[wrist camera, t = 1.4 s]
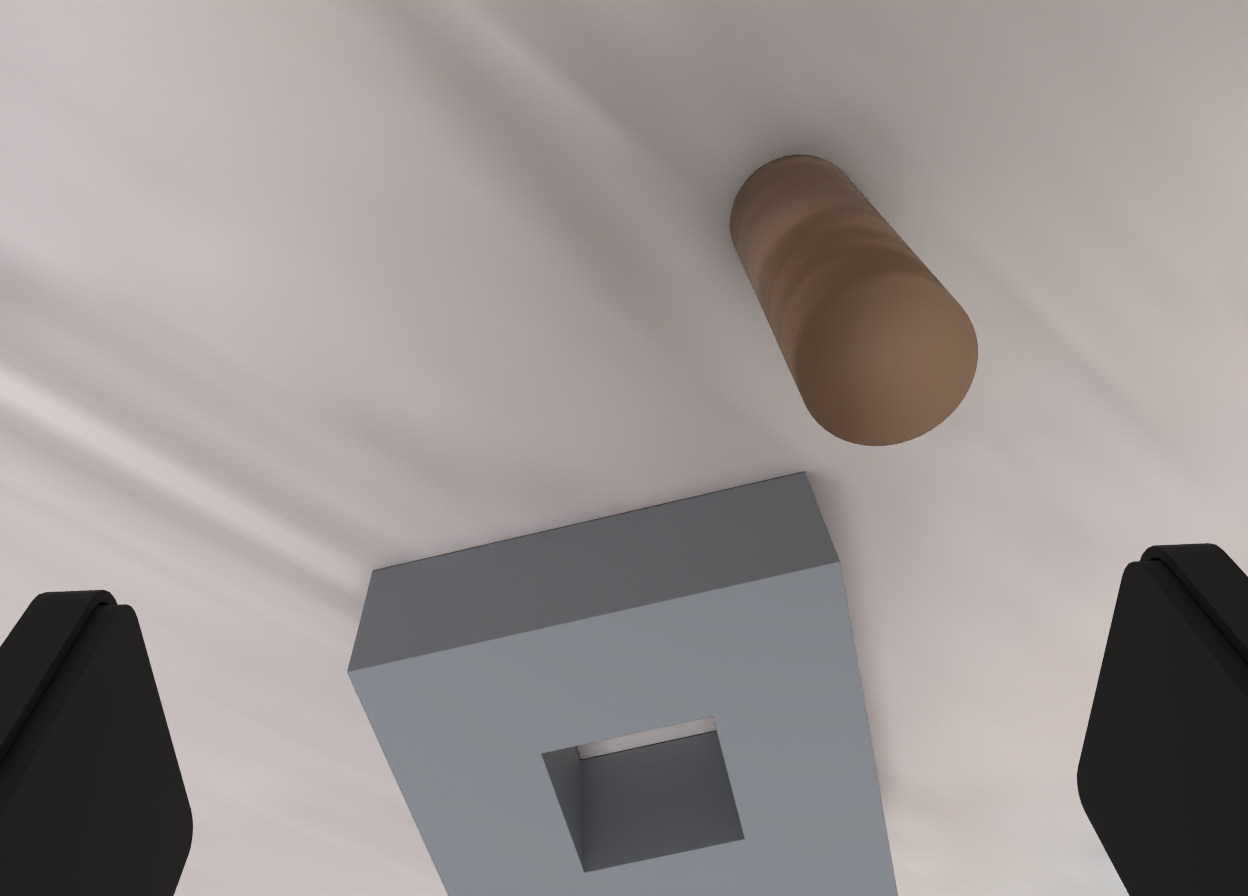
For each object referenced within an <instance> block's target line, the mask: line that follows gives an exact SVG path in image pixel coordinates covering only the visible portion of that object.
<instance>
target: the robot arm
mask: <svg viewBox="0 0 1248 896" xmlns="http://www.w3.org/2000/svg"><path fill="white" fill-rule="evenodd" d="M1077 785H1078V792H1079V796H1080V800H1081V803H1082V806H1083V808H1084V810H1085V812H1086V814H1087V816H1088V818H1089V820H1090V822H1091V824H1092V826H1093V828H1094V829H1095V831H1096V833H1097V835H1098V837H1099V839H1100V841H1101V843H1102V845H1103V846H1104V848H1105V850H1106V852H1107V854H1108V856H1109V858H1110V860H1111V861H1112V863H1113V865H1114V867H1115V869H1116V871H1117V873H1118V875H1119V877H1120V878H1121V880H1122V882H1123V884H1124V886H1125V888H1126V890H1127V892H1128V894H1129V895H1130V896H1248V577H1247V576H1246V574H1245V573H1244V572H1243V571H1242V570H1241V569H1240V568H1239V567H1238V566H1237V565H1236V564H1235V562H1234V561H1233V560H1232V559H1231V558H1230V557H1229V556H1228V555H1227V554H1226V553H1225V552H1224V551H1223V550H1222V549H1221V548H1220V547H1218V546H1217V545H1214V544H1209V543H1205V544H1181V545H1157V546H1152V547H1149V548H1147V549H1146V551H1145V552H1144V553H1143V554H1142V556H1141V559H1140V561H1138V562H1132V563H1129V564H1128V565H1127V567H1126V568H1125V570H1124V573H1123V576H1122V580H1121V584H1120V588H1119V593H1118V597H1117V601H1116V606H1115V610H1114V614H1113V619H1112V623H1111V627H1110V632H1109V636H1108V640H1107V644H1106V649H1105V653H1104V657H1103V662H1102V666H1101V670H1100V675H1099V679H1098V683H1097V688H1096V692H1095V696H1094V701H1093V705H1092V709H1091V714H1090V718H1089V722H1088V727H1087V731H1086V735H1085V740H1084V744H1083V748H1082V752H1081V757H1080V761H1079V765H1078V772H1077ZM192 834H193V820H192V813H191V808H190V805H189V801H188V798H187V794H186V790H185V787H184V783H183V780H182V776H181V772H180V769H179V765H178V762H177V758H176V755H175V751H174V747H173V744H172V740H171V737H170V733H169V729H168V726H167V722H166V719H165V715H164V712H163V708H162V704H161V701H160V697H159V694H158V690H157V686H156V683H155V679H154V676H153V672H152V669H151V665H150V661H149V658H148V654H147V651H146V647H145V643H144V640H143V636H142V633H141V629H140V626H139V622H138V618H137V616H136V613H135V611H134V610H133V608H132V607H131V606H129V605H117V603H116V600H115V598H114V597H113V596H112V594H111V593H110V592H108V591H105V590H89V591H65V592H45V593H42V594H39V595H38V596H37V597H36V598H35V599H34V600H33V601H32V602H31V603H30V605H29V606H28V608H27V609H26V611H25V612H24V614H23V615H22V616H21V618H20V619H19V621H18V622H17V624H16V625H15V627H14V628H13V629H12V631H11V632H10V634H9V635H8V637H7V638H6V639H5V641H4V642H3V644H2V645H1V647H0V896H173V895H174V893H175V890H176V887H177V885H178V882H179V879H180V876H181V874H182V871H183V868H184V866H185V863H186V860H187V857H188V855H189V851H190V848H191V842H192Z"/></svg>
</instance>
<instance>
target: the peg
mask: <svg viewBox="0 0 1248 896" xmlns="http://www.w3.org/2000/svg"><path fill="white" fill-rule="evenodd" d="M730 229H731V236H732V240H733V243H734V246H735V248H736V251H737V253H738V255H739V257H740V259H741V262H742V264H743V266H744V268H745V271H746V273H747V275H748V277H749V280H750V282H751V284H752V286H753V289H754V291H755V293H756V295H757V298H758V300H759V302H760V304H761V307H762V309H763V311H764V313H765V316H766V318H767V320H768V322H769V324H770V327H771V329H772V331H773V333H774V336H775V338H776V340H777V342H778V345H779V347H780V349H781V351H782V354H783V356H784V358H785V360H786V363H787V365H788V367H789V369H790V372H791V374H792V376H793V378H794V380H795V383H796V385H797V387H798V389H799V392H800V394H801V396H802V398H803V401H804V403H805V405H806V407H807V409H808V410H809V412H810V414H811V415H812V416H813V418H814V419H815V420H816V421H817V422H818V423H819V424H820V425H821V426H822V427H823V428H824V429H825V430H827V431H828V432H830V433H831V434H833V435H834V436H836V437H838V438H841V439H843V440H845V441H848V442H851V443H855V444H860V445H867V446H886V445H893V444H898V443H902V442H905V441H909V440H912V439H914V438H916V437H919V436H921V435H923V434H925V433H927V432H928V431H930V430H932V429H933V428H935V427H936V426H938V425H939V424H940V423H942V422H943V421H944V420H945V419H946V418H947V417H948V416H950V414H951V413H952V412H953V411H954V410H955V409H956V408H957V407H958V405H959V404H960V403H961V401H962V400H963V398H964V397H965V395H966V393H967V391H968V390H969V388H970V385H971V383H972V380H973V378H974V374H975V371H976V367H977V359H978V345H977V339H976V334H975V331H974V328H973V325H972V323H971V321H970V319H969V317H968V315H967V314H966V312H965V311H964V310H963V308H962V307H961V306H960V305H959V303H958V302H957V301H956V300H955V299H954V298H953V297H952V295H951V294H950V293H949V292H948V291H947V290H946V289H945V287H944V286H943V285H942V284H941V283H940V282H939V281H938V280H937V278H936V277H935V276H934V275H933V274H932V273H931V272H930V270H929V269H928V268H927V267H926V266H925V265H924V264H923V262H922V261H921V260H920V259H919V258H918V257H917V256H916V255H915V253H914V252H913V251H912V250H911V249H910V248H909V247H908V245H907V244H906V243H905V242H904V241H903V240H902V239H901V237H900V236H899V235H898V234H897V233H896V232H895V231H894V229H893V228H892V227H891V226H890V225H889V224H888V223H887V222H886V220H885V219H884V218H883V217H882V216H881V215H880V214H879V212H878V211H877V210H876V209H875V208H874V207H873V206H872V204H871V203H870V202H869V201H868V200H867V199H866V198H865V197H864V195H863V194H862V193H861V192H860V191H859V190H858V189H857V187H856V186H855V185H854V184H853V183H852V182H851V181H850V179H849V178H848V177H847V176H846V175H845V174H844V173H843V172H842V171H841V170H840V169H839V168H838V167H836V166H835V165H834V164H832V163H830V162H828V161H826V160H824V159H821V158H818V157H814V156H809V155H792V156H786V157H782V158H779V159H776V160H774V161H771V162H769V163H767V164H766V165H764V166H762V167H761V168H759V169H758V170H757V171H756V172H754V173H753V174H752V175H751V176H750V177H749V178H748V179H747V181H746V182H745V183H744V185H743V186H742V187H741V189H740V191H739V192H738V194H737V196H736V199H735V201H734V204H733V208H732V211H731V218H730Z"/></svg>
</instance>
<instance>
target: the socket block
mask: <svg viewBox="0 0 1248 896" xmlns="http://www.w3.org/2000/svg"><path fill="white" fill-rule="evenodd" d="M347 673H348V675H349V677H350V679H351V682H352V684H353V686H354V688H355V691H356V693H357V695H358V697H359V699H360V702H361V704H362V706H363V708H364V710H365V713H366V715H367V717H368V719H369V721H370V724H371V726H372V728H373V730H374V733H375V735H376V737H377V739H378V741H379V744H380V746H381V748H382V750H383V752H384V755H385V757H386V759H387V761H388V764H389V766H390V768H391V770H392V772H393V775H394V777H395V779H396V781H397V783H398V786H399V788H400V790H401V792H402V794H403V797H404V799H405V801H406V803H407V806H408V808H409V810H410V812H411V814H412V817H413V819H414V821H415V823H416V825H417V828H418V830H419V832H420V834H421V836H422V839H423V841H424V843H425V845H426V848H427V850H428V852H429V854H430V856H431V859H432V861H433V863H434V865H435V867H436V870H437V872H438V874H439V876H440V878H441V881H442V883H443V885H444V887H445V890H446V892H447V894H448V896H898V893H897V887H896V881H895V875H894V870H893V864H892V858H891V852H890V847H889V841H888V835H887V829H886V824H885V818H884V812H883V806H882V801H881V795H880V789H879V784H878V778H877V772H876V766H875V761H874V755H873V749H872V743H871V738H870V732H869V726H868V720H867V715H866V709H865V703H864V697H863V692H862V686H861V680H860V674H859V669H858V663H857V657H856V651H855V646H854V640H853V634H852V628H851V623H850V617H849V611H848V606H847V600H846V594H845V588H844V583H843V577H842V571H841V565H840V561H839V558H838V556H837V553H836V551H835V548H834V546H833V543H832V541H831V538H830V535H829V533H828V530H827V528H826V525H825V523H824V520H823V518H822V515H821V513H820V510H819V508H818V505H817V503H816V500H815V498H814V495H813V493H812V490H811V488H810V485H809V482H808V480H807V477H806V475H805V472H802V473H797V474H793V475H789V476H784V477H780V478H776V479H771V480H767V481H763V482H758V483H754V484H750V485H745V486H741V487H736V488H732V489H728V490H723V491H719V492H715V493H710V494H706V495H702V496H697V497H693V498H689V499H684V500H680V501H676V502H671V503H667V504H663V505H658V506H654V507H650V508H645V509H641V510H637V511H632V512H628V513H623V514H619V515H615V516H610V517H606V518H602V519H597V520H593V521H589V522H584V523H580V524H576V525H571V526H567V527H563V528H558V529H554V530H550V531H545V532H541V533H537V534H532V535H528V536H523V537H519V538H515V539H510V540H506V541H502V542H497V543H493V544H489V545H484V546H480V547H476V548H471V549H467V550H463V551H458V552H454V553H450V554H445V555H441V556H437V557H432V558H428V559H424V560H419V561H415V562H410V563H406V564H402V565H397V566H393V567H389V568H384V569H380V570H376V571H373V572H372V576H371V580H370V584H369V588H368V592H367V596H366V600H365V604H364V608H363V612H362V616H361V620H360V624H359V628H358V632H357V636H356V639H355V643H354V647H353V651H352V655H351V659H350V663H349V667H348V671H347ZM712 716H713V718H714V722H715V726H716V730H717V731H715V732H710V733H706V734H701V735H697V736H692V737H687V738H683V739H678V740H673V741H669V742H664V743H660V744H655V745H650V746H646V747H641V748H637V749H632V750H627V751H623V752H618V753H613V754H609V755H604V756H600V757H595V758H590V759H586V760H581V758H580V755H579V753H578V750H577V747H576V746H578V745H583V744H587V743H592V742H597V741H601V740H606V739H610V738H615V737H620V736H624V735H629V734H633V733H638V732H643V731H647V730H652V729H656V728H661V727H666V726H670V725H675V724H679V723H684V722H689V721H693V720H698V719H702V718H707V717H712Z"/></svg>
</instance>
